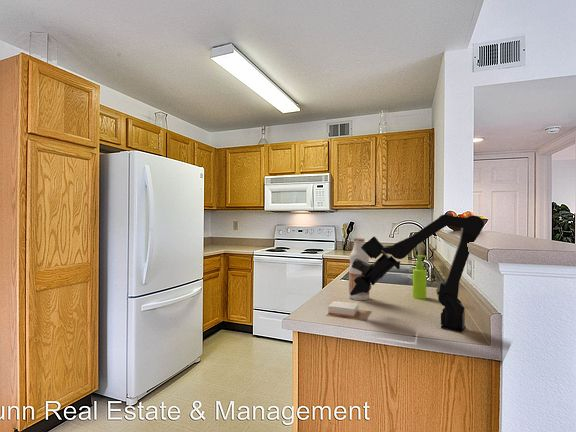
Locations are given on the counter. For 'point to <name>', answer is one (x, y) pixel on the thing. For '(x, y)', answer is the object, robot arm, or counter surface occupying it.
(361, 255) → the fruit juice
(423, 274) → the soap dispenser
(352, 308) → the white box
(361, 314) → the board
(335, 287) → the counter surface
